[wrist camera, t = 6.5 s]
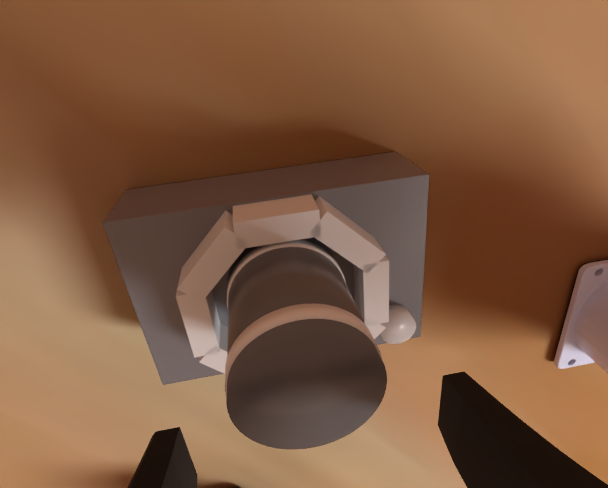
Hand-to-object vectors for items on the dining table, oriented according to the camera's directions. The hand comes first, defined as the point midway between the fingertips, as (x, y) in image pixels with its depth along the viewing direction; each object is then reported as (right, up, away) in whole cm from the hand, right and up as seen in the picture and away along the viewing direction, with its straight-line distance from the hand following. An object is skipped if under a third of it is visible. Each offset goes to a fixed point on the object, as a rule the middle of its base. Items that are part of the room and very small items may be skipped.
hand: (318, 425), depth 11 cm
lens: (-1, +4, +5) cm, 6 cm away
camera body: (-2, +5, +8) cm, 10 cm away
